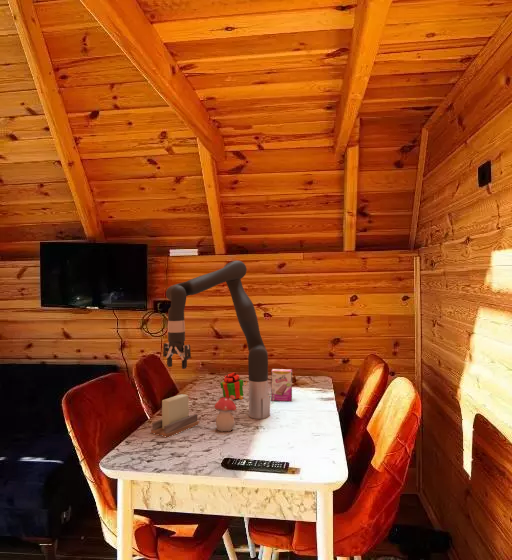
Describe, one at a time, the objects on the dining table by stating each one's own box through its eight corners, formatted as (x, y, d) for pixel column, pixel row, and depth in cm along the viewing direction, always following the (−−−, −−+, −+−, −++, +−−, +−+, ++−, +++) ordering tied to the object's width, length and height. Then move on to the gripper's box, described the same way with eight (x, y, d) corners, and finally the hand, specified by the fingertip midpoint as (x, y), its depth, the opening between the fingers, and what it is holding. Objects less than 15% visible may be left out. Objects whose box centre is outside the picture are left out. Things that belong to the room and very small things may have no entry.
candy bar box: (271, 401, 222) (271, 370, 222) (271, 398, 227) (271, 368, 227) (292, 401, 221) (291, 371, 221) (292, 399, 226) (292, 369, 226)
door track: (198, 424, 186) (198, 414, 186) (167, 437, 170) (167, 426, 170) (182, 420, 191) (182, 410, 191) (150, 433, 176) (150, 422, 176)
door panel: (188, 422, 185) (188, 395, 185) (168, 430, 175) (168, 401, 175) (182, 420, 187) (181, 393, 187) (162, 428, 177) (162, 400, 177)
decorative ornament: (238, 428, 180) (238, 394, 180) (231, 433, 174) (231, 398, 174) (219, 425, 184) (219, 392, 184) (212, 430, 178) (212, 395, 178)
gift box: (211, 401, 228) (208, 376, 228) (238, 392, 241) (234, 367, 240) (234, 407, 213) (230, 380, 213) (260, 397, 226) (257, 370, 225)
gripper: (194, 330, 182) (194, 367, 182) (170, 329, 189) (171, 364, 189) (182, 332, 175) (183, 370, 175) (158, 330, 183) (159, 367, 183)
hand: (176, 367), depth 182 cm, fingers open, 8 cm apart
